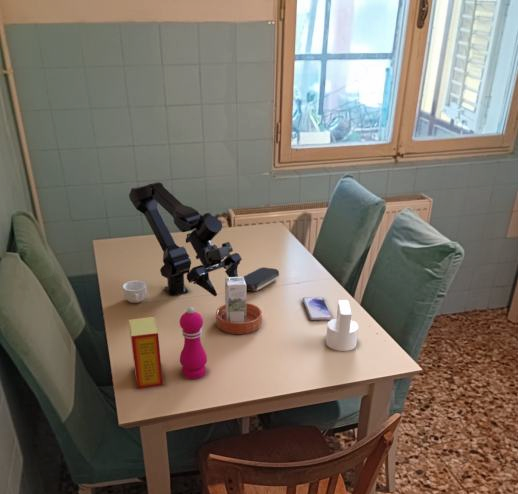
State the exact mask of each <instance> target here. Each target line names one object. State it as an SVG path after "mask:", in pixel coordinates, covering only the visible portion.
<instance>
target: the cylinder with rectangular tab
mask: <svg viewBox="0 0 518 494" xmlns="http://www.w3.org/2000/svg"><path fill="white" fill-rule="evenodd" d="M352 316H353V315H352V310H351V305H350V301H349V300H347V299H339V300H337V309H336V318H332V319H331V320H328V322H327V324H326V325H327V327H326V335H325V336H326V338H325V344H326V346H327V347H328V348H330V349H332V350H334V351H339V352H340V351H341V352H348V351H351V350H353V349H356V346H357V341H358V334H359V324H358V323H357V322H356V321H355V320H352Z"/></svg>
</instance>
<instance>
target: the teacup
mask: <svg viewBox="0 0 518 494" xmlns="http://www.w3.org/2000/svg"><path fill="white" fill-rule="evenodd" d="M122 291H123V297H124V298H125V300H126V301H127V302H129V303H132V304H139V303H141V302H143V301H144V300H145V299H146V298H147V293H148V292H147V284H146V282H145V281H142V280H130V281H127V282H124V284H122Z"/></svg>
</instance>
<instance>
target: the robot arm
mask: <svg viewBox="0 0 518 494" xmlns="http://www.w3.org/2000/svg"><path fill="white" fill-rule="evenodd" d="M128 197H129V200H130V202H131V203H132V205H133V206H134V208H135V210H137V211H138V212H140V213H142V214H143V215H144V217H145V219H146V221H147V223H148V225H149V226H150V228H151V230H152V232H153V234H154V236H155V239H156V240H157V242H158V244H159V246H160V248H161V250H162V252H163V256H162V262H163V266H162V267H160V269H159V271H160V275H161V276H162V277H164V278H165V279H167V280H166V282H167V286H164V290H165V291H166V292H167V293H168V294H169V296H176V295H180V294H185V293H189V289H188V288H187V287H186V286H185V275H186V280H187V281H188V283H189V284H191V283H192V284H193V285H197V286H199V287H201V288H202V289H204V290H205V291H206V292H208V293H210V294H211V295H212V296H213V297H217V296H218V293H217V291H216V289H215V287H214V285H213V283H212V281H211V280H210V274H209V273H211V272H214V271H217V270H220V269H222V268H223V269H225V271H224V272H225V274H226V275H227V276H228V277H239V276H238V267H239V265H240V264H241V261H242V260H243V258H242V256H241V255H240V253H238V252H235V253H233V251H234V249H233V246H232V244H231V242H230V241H227V242H224V243H222V244H221V246H220V247H218V246H217V245H216V244H213V243H212V240H214V238H215V237H216V236H217V235H218V234H219V233H220V232H222V229H223V222H222V221H221V220H220V219H219V218H218V217H217V216H215V215H212V214H211V212H206V213H204V214H203V215H202V214H201V213H200V212H199V211H198V210H196V209H195V208H193V207H192V206H188V205H185V204H183V203H182V202H181V201H180V200H178V198H176V197H175V196H174V195H173V194H172V193H171V192H170V191H169V190H167V189H166V188H165V187H164V184H163V183H162V182H160V181H155V182H152V183H148V184H146V185H145V184H144V185H141V186H137V187H133V188H131V189H130V192H129V194H128ZM158 204H159V205H160V206H161V207H162V208H163V209H164V210H165V211H166V212H167V213H168V214H169V215H170V216H171V217H172V218H173V224H174V225H175V226H176V227H177V229H178V230H179V231H180V232H181V233H186V238H185V244H189V243H190V245H191V246H192V248H193V250H194V252H195V254H196V255H195V260H199V261H200V263H201V264H200V265H197V266H194V267H192V268H191V265H192V260H191V256H190V255H189V254H188V251H187V249H186V247H185V246H179V245H177V243H176V241H175V239H174V237H173V235H172V233H171V231H170V230H169V227H168V225H167V224H166V221H165V220H164V218H163V216H162V214H161V213H160V210H159V208H158ZM190 231H191V232H190ZM187 232H188V233H187ZM231 253H232V254H231ZM228 277H227V278H228Z"/></svg>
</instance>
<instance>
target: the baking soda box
mask: <svg viewBox="0 0 518 494" xmlns="http://www.w3.org/2000/svg"><path fill="white" fill-rule="evenodd" d="M128 326H129V334H130V335H129V336H130V343H131V350H132V360H133V367H134V373H135V382H136V386H137V389H145V388H152V387H160V386H163V384H164V381H163V372H162V371H163V369H162V362H161V361H162V360H161V351H160V340H159V338H160V337H159V332H158V331H159V330H158V328H157V324H156V319H155V315H151V316H142V317H133V318H128Z"/></svg>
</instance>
